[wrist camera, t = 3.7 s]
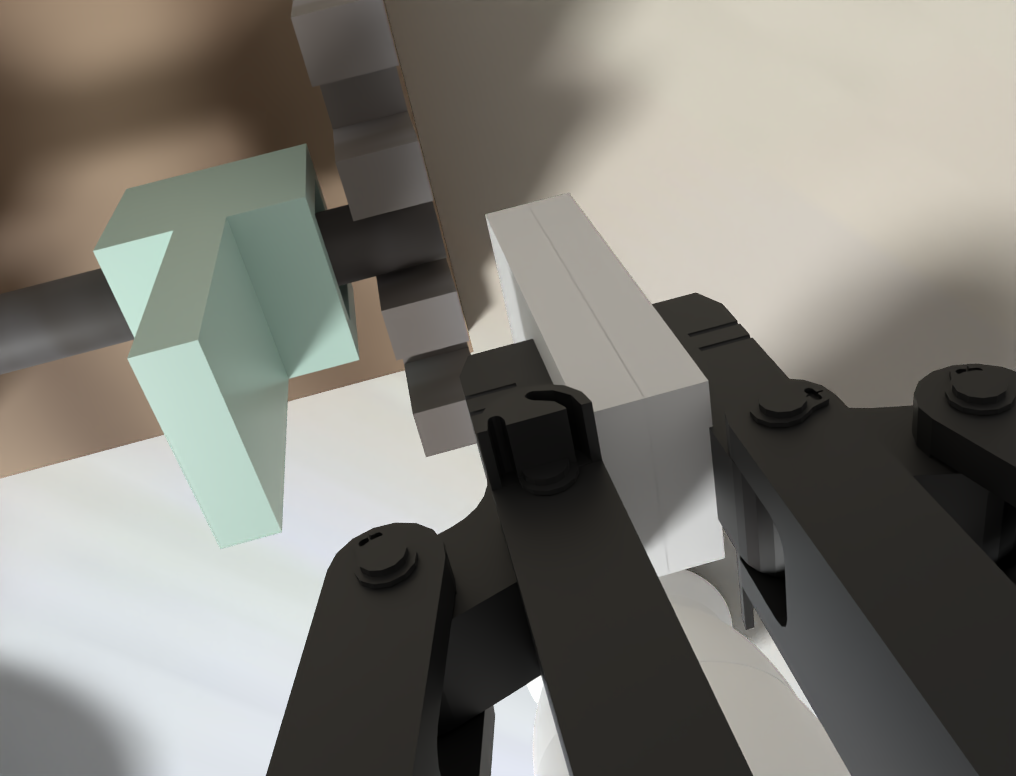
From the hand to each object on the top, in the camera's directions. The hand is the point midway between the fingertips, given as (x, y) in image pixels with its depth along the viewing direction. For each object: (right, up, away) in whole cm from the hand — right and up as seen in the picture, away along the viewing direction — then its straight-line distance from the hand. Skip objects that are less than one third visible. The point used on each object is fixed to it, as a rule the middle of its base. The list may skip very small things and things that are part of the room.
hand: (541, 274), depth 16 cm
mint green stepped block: (-7, +1, +5) cm, 8 cm away
